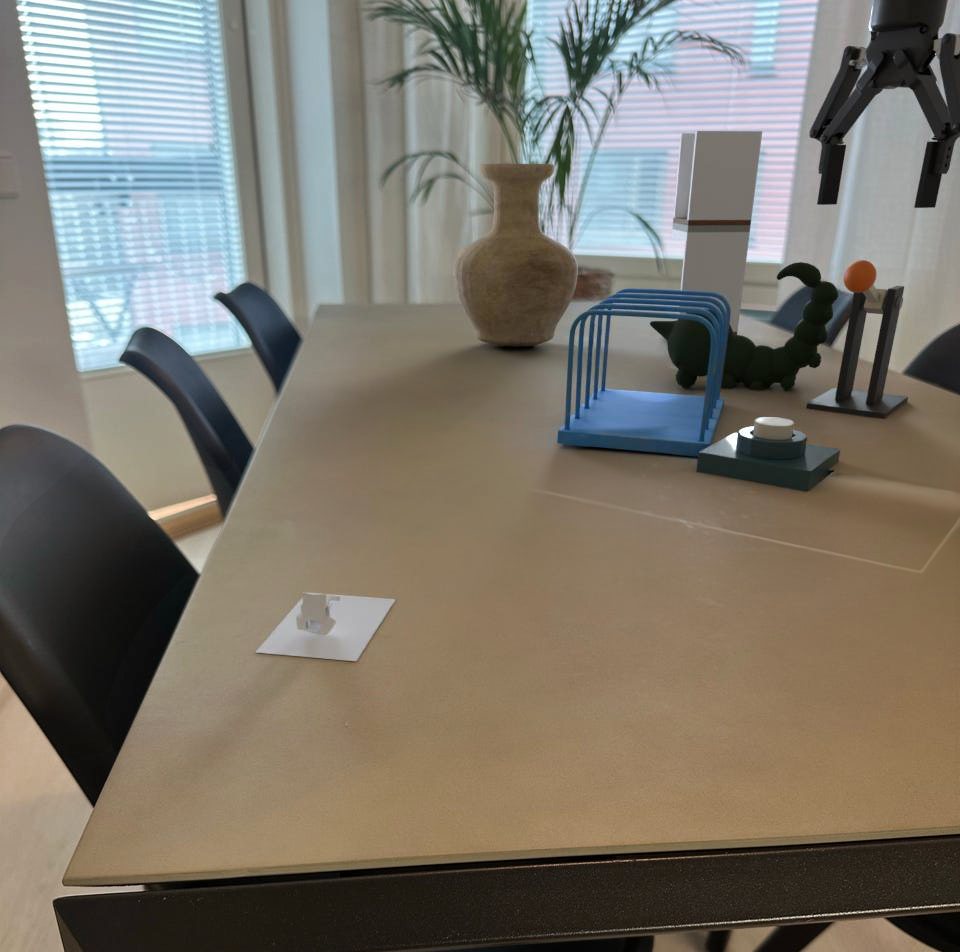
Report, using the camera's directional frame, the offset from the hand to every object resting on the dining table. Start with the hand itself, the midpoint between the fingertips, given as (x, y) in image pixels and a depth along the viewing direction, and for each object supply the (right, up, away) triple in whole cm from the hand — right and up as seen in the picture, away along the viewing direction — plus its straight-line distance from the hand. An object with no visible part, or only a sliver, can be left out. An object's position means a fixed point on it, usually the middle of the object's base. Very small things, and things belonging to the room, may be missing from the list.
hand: (873, 206), depth 107 cm
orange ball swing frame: (+4, -20, +16) cm, 26 cm away
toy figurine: (-9, -14, +28) cm, 32 cm away
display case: (-4, +7, +69) cm, 70 cm away
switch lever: (+1, -10, +5) cm, 11 cm away
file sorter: (-26, -25, +7) cm, 36 cm away
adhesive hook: (-57, -50, -42) cm, 87 cm away
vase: (-40, +4, +63) cm, 75 cm away
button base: (-15, -33, -9) cm, 37 cm away
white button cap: (-15, -30, -11) cm, 35 cm away
